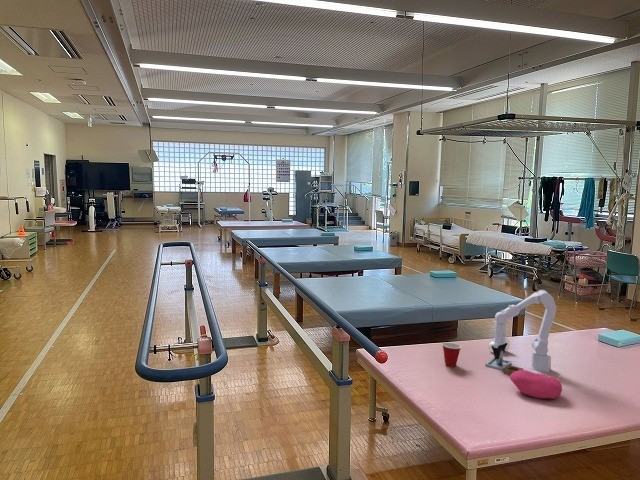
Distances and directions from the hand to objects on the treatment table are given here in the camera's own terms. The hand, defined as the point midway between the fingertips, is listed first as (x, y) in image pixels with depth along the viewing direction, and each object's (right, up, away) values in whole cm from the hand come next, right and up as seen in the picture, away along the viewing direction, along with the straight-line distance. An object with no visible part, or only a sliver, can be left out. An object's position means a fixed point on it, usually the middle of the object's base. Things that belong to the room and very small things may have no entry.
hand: (498, 356), depth 263 cm
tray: (0, -5, +1) cm, 5 cm away
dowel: (0, -4, 0) cm, 4 cm away
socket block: (+3, -6, -11) cm, 13 cm away
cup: (+3, 0, +20) cm, 20 cm away
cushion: (+5, -9, -35) cm, 37 cm away
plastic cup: (-27, -5, 0) cm, 28 cm away
